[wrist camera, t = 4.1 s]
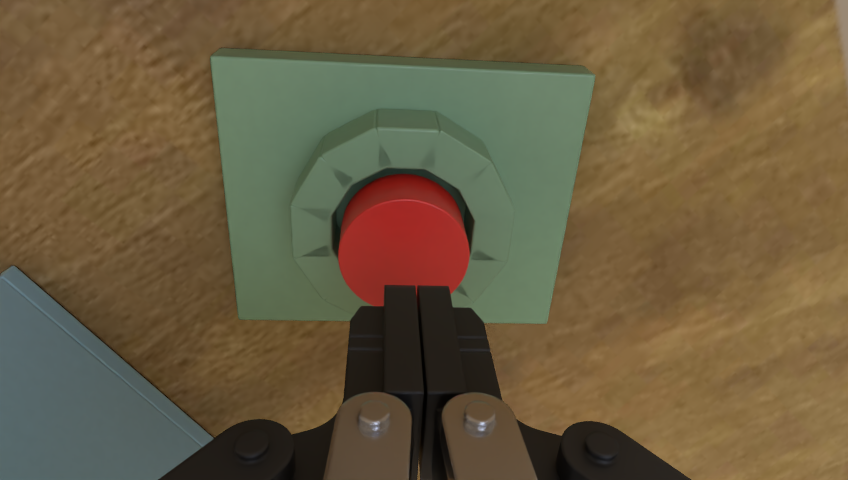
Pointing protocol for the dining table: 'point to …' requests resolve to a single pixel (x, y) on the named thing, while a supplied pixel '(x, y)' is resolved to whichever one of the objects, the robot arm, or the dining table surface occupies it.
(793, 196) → the dining table surface
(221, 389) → the dining table surface
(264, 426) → the robot arm
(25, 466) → the box
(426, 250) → the button
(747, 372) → the dining table surface
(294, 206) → the green button base
